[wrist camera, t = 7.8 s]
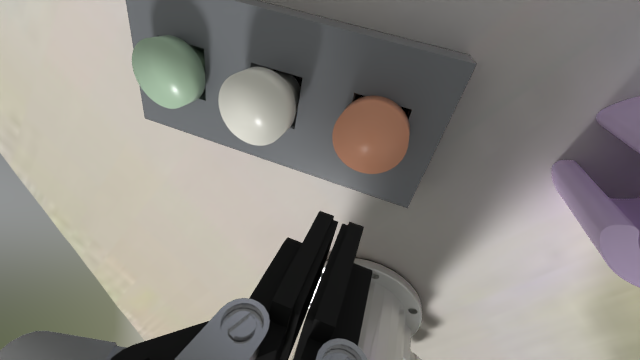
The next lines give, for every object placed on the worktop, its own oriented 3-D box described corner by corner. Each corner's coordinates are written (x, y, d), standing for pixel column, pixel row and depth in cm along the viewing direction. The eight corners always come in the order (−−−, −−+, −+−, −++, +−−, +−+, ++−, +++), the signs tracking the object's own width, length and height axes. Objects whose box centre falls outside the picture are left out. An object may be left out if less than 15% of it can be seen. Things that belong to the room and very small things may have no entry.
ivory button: (316, 68, 19) (291, 84, 16) (306, 128, 22) (281, 154, 18) (256, 50, 20) (218, 62, 16) (252, 111, 22) (218, 133, 19)
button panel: (469, 54, 18) (476, 63, 15) (409, 186, 23) (407, 208, 21) (156, -26, 21) (120, -30, 18) (170, 107, 26) (144, 118, 24)
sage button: (230, 39, 21) (188, 48, 17) (229, 98, 23) (192, 116, 20) (177, 24, 22) (126, 29, 18) (181, 83, 24) (137, 98, 20)
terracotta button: (422, 94, 19) (421, 116, 15) (398, 152, 21) (393, 183, 18) (357, 75, 20) (341, 93, 16) (342, 134, 22) (325, 160, 18)
